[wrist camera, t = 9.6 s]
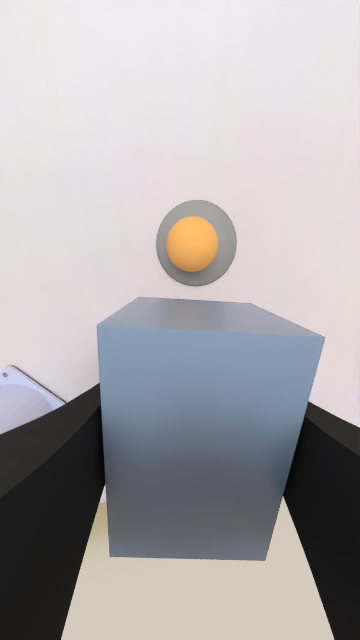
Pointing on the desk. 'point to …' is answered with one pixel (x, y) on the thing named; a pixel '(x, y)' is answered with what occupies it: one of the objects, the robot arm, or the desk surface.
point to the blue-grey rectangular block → (200, 425)
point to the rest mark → (224, 235)
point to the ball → (192, 244)
